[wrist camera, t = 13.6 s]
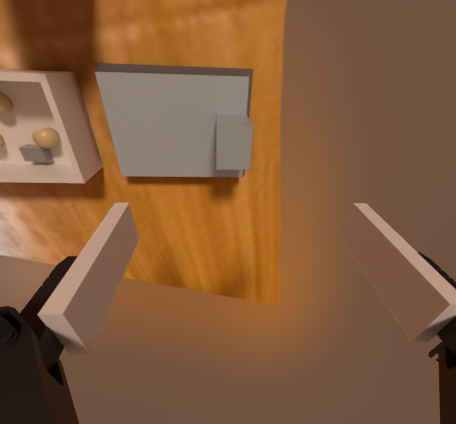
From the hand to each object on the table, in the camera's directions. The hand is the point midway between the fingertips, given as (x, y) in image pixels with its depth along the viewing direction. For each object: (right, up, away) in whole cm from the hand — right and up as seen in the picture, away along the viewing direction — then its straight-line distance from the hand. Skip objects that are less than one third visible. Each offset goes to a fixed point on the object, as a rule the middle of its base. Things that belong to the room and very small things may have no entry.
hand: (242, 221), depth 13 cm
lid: (-8, +13, +19) cm, 24 cm away
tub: (-30, +13, +18) cm, 38 cm away
